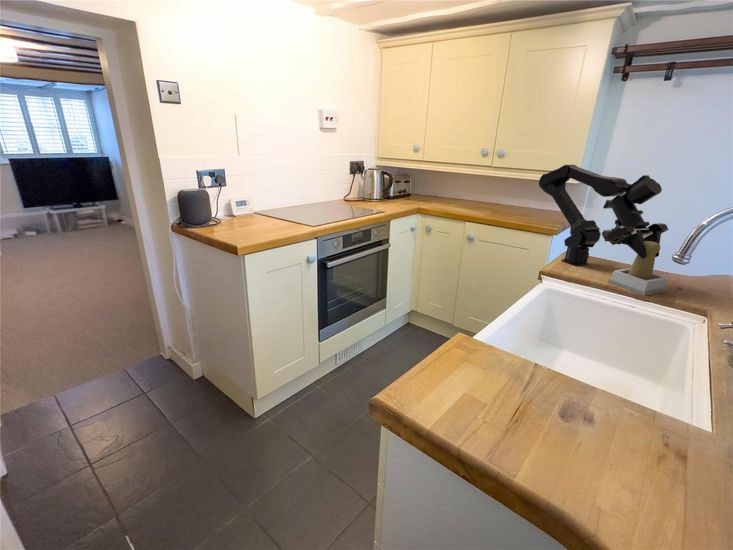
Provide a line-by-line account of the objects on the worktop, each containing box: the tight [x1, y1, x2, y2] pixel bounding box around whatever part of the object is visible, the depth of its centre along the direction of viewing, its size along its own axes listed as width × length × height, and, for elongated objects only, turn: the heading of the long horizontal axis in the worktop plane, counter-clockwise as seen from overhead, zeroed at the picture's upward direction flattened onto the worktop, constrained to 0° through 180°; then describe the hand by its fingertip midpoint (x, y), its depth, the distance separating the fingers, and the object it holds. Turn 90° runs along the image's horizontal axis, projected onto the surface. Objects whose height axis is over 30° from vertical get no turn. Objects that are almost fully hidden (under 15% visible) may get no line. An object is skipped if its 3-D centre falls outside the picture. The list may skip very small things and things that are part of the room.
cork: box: [628, 241, 661, 280], centre depth 107 cm, size 6×6×11 cm
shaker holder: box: [607, 267, 669, 296], centre depth 110 cm, size 11×11×4 cm
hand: (650, 257), depth 106 cm, fingers closed on cork, 5 cm apart
